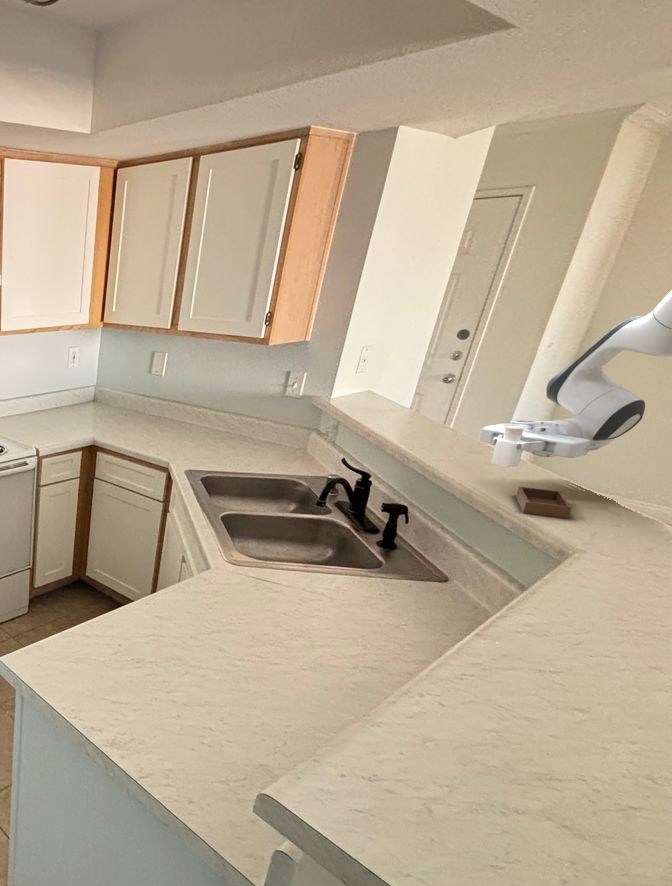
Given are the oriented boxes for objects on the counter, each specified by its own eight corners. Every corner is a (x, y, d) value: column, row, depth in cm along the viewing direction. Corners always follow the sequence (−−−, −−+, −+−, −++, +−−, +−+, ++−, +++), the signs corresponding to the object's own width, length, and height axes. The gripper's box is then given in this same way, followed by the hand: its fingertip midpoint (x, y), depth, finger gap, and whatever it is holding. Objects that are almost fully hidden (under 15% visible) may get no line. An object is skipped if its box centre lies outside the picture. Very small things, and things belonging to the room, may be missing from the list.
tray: (515, 496, 137) (518, 486, 136) (557, 501, 133) (560, 491, 132) (522, 512, 127) (526, 501, 127) (568, 518, 123) (571, 507, 123)
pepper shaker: (507, 468, 139) (518, 429, 136) (488, 464, 143) (499, 426, 140) (519, 466, 140) (530, 427, 137) (500, 463, 144) (511, 424, 141)
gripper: (600, 461, 134) (555, 467, 131) (501, 443, 153) (460, 448, 150) (608, 434, 132) (563, 439, 129) (507, 419, 151) (466, 423, 148)
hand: (507, 443), depth 140 cm, fingers closed on pepper shaker, 4 cm apart
